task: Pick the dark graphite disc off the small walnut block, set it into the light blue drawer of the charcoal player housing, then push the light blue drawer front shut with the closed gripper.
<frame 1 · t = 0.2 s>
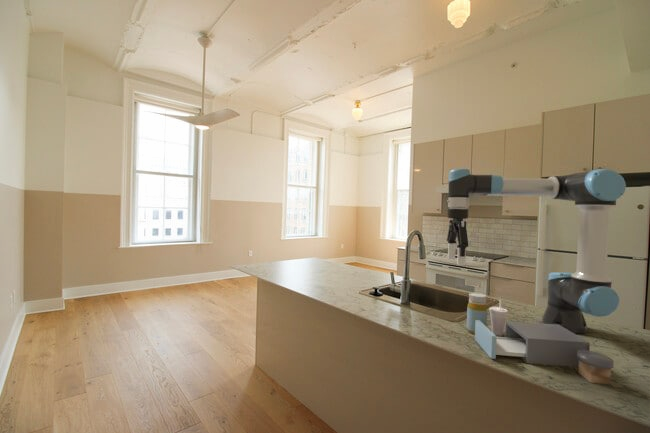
hand: (456, 261, 121), 28 cm above the table, tool pointing down, fingers open, 13 cm apart
bottle: (476, 332, 121), on the table
smoothie: (497, 334, 120), on the table
light blue drawer: (510, 339, 105), point 4 cm above the table, slide at 9.0 cm
housing: (543, 354, 104), on the table
disc: (594, 361, 89), point 5 cm above the table, touching block
block: (593, 378, 89), on the table
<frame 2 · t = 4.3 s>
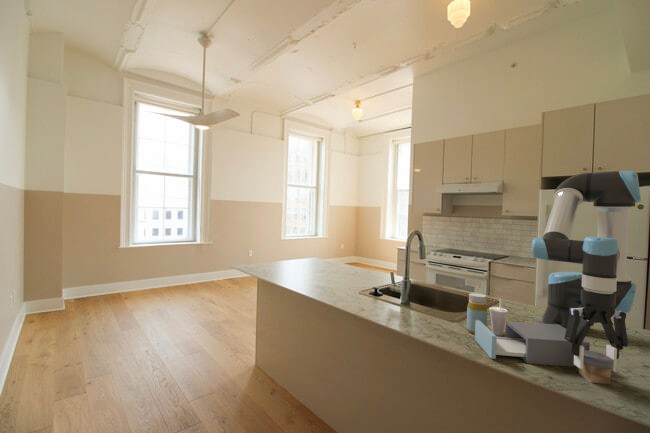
hand: (594, 367, 89), 3 cm above the table, tool pointing down, fingers closed on disc, 8 cm apart
disc: (594, 361, 89), point 5 cm above the table, touching block, gripper
everything else where it was.
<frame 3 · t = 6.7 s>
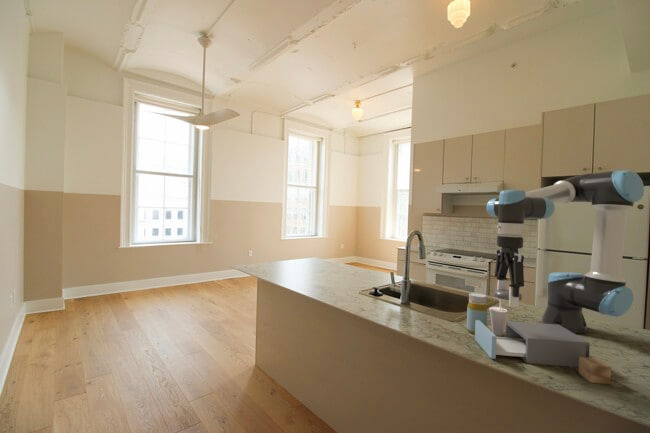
hand: (507, 302, 104), 17 cm above the table, tool pointing down, fingers closed on disc, 8 cm apart
disc: (507, 297, 104), point 19 cm above the table, touching gripper
everything else where it was.
when the fingers open (3 cm above the table, at t = 9.5 s): disc drops 2 cm, resting on light blue drawer.
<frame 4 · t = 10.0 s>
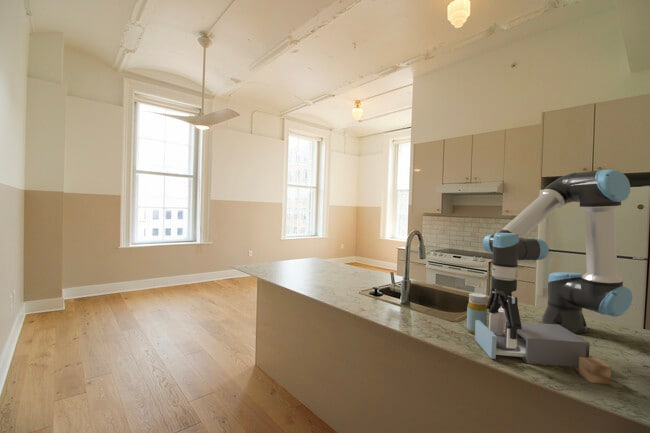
hand: (501, 339, 105), 4 cm above the table, tool pointing down, fingers open, 13 cm apart
light blue drawer: (510, 339, 105), point 4 cm above the table, slide at 9.0 cm, touching disc
disc: (501, 344, 105), point 2 cm above the table, touching light blue drawer
everything else where it was.
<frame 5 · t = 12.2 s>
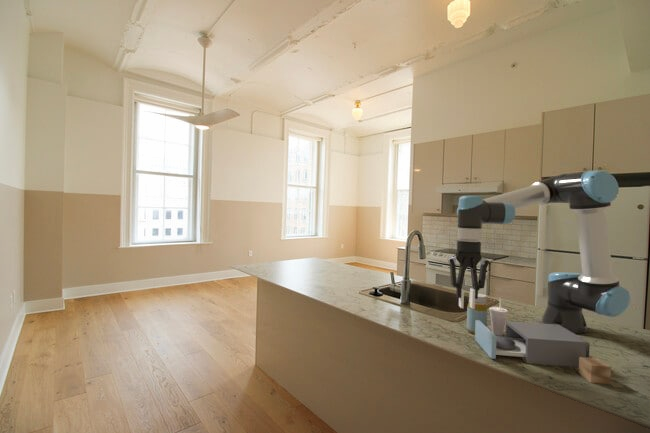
hand: (466, 307, 106), 15 cm above the table, tool pointing down, fingers open, 3 cm apart
nothing on the table moved.
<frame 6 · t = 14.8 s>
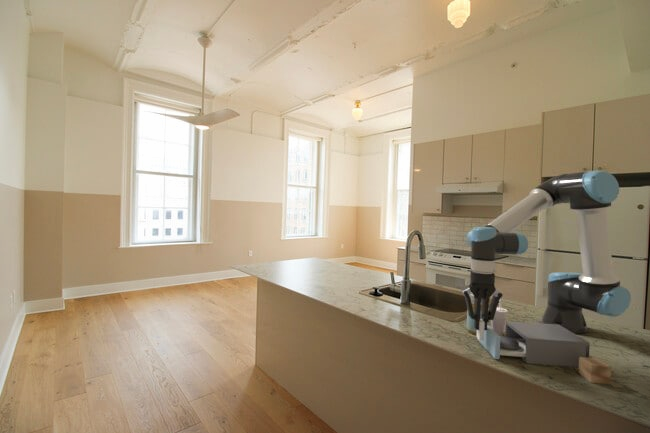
hand: (480, 338, 106), 4 cm above the table, tool pointing down, fingers closed
light blue drawer: (513, 340, 105), point 4 cm above the table, slide at 7.8 cm, touching disc, gripper
disc: (504, 345, 105), point 2 cm above the table, touching light blue drawer
everything else where it was.
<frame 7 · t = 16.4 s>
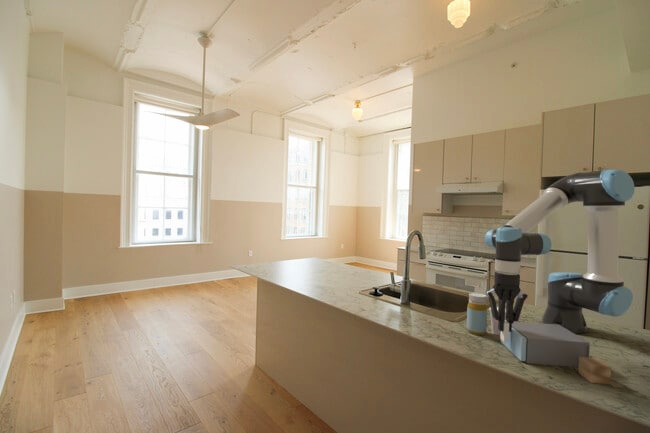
hand: (504, 340, 105), 4 cm above the table, tool pointing down, fingers closed
light blue drawer: (538, 341, 104), point 4 cm above the table, slide at 0.0 cm, touching disc, gripper
disc: (529, 346, 104), point 2 cm above the table, touching light blue drawer
everything else where it was.
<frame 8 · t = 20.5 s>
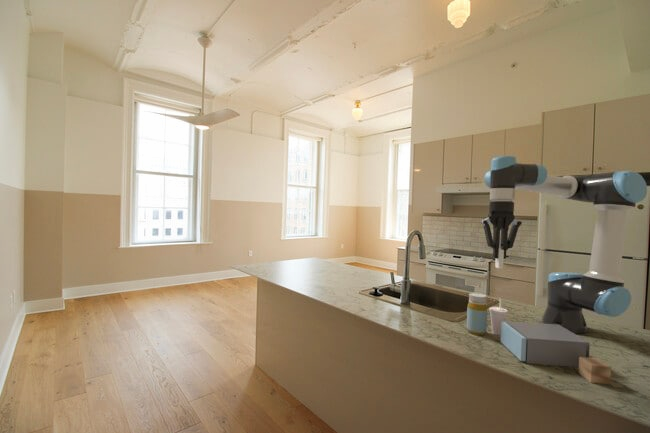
hand: (499, 267, 107), 28 cm above the table, tool pointing down, fingers closed
light blue drawer: (538, 341, 104), point 4 cm above the table, slide at 0.0 cm, touching disc
everything else where it was.
at the end: light blue drawer slide at 0.0 cm; disc inside the target area (4.3 cm from its centre), point 2.1 cm above the table; the gripper is holding nothing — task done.
